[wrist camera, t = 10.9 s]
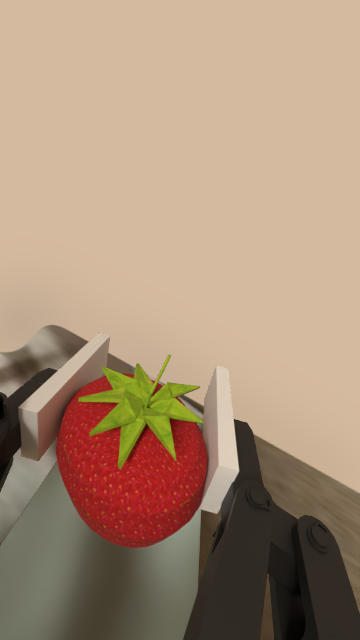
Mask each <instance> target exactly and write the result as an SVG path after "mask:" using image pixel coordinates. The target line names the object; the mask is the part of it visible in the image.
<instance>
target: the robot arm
mask: <svg viewBox="0 0 360 640" xmlns="http://www.w3.org/2000/svg"><path fill="white" fill-rule="evenodd" d="M109 340H110V336H107V335H104V334H100V333H98V334H97V335H96V336H95V337H94V338H93V339H92V340H91V341H89V342H88V343H87V344H86V345H85V346H84V347H83V348H82V349H81V350H80V351H79V352H78V353H76V354H75V355H74V356H73V357H72V358H71V359H70V360H69V361H68V362H67V363H66V364H65V365H64V366H62V367H61V368H60V369H59V370H55V369H51V368H47V369H45V370H43V371H41V372H38V373H37V374H36V375H35V376H33V377H32V378H31V379H30V381H27V382H26V383H25V384H24V385H23V386H21V387H20V388H19V389H18V390H17V391H15V392H14V393H13V394H12V395H11V396H9V397H8V398H7V396H6V395H5V394H3V393H1V392H0V492H1V489H2V487H3V485H4V482H5V480H6V478H7V475H8V473H9V471H10V468H11V466H12V463H13V455H14V454H15V453H16V452H17V451H18V450H19V448H20V447H21V456H22V457H26V458H29V459H33V460H36V461H39V460H40V458H41V457H42V456H43V454H44V453H45V452H46V450H47V449H48V448H49V446H50V445H51V444H52V442H53V441H54V440H55V438H56V437H57V436H58V432H59V429H60V426H61V423H62V419H63V416H64V413H65V410H66V407H67V405H68V403H69V402H70V400H71V398H72V397H73V396H74V395H75V394H76V392H77V391H78V390H79V389H80V388H82V387H83V386H85V385H86V384H88V383H90V382H92V381H94V380H97V379H99V378H101V377H102V375H103V374H104V372H103V370H102V366H104V367H106V364H107V356H108V347H109ZM203 422H204V423H205V424H203V439H204V442H205V445H206V452H207V469H206V479H205V488H204V494H203V497H202V500H201V503H200V506H199V509H202V510H205V511H208V512H212V513H215V514H218V512H219V510H220V508H221V518H222V520H221V521H220V523H219V525H218V527H217V529H216V531H215V533H214V535H213V537H215V538H214V541H213V544H212V547H211V551H210V554H209V557H208V560H207V563H206V567H205V570H204V573H203V576H202V580H201V583H200V586H199V589H198V593H197V596H196V599H195V602H194V605H193V609H192V612H191V615H190V618H189V622H188V625H187V628H186V631H185V634H184V638H183V640H260V631H261V622H262V614H263V605H264V596H265V587H266V578H267V573H268V574H269V581H270V593H271V605H272V617H273V629H274V640H360V613H359V610H358V607H357V604H356V601H355V597H354V594H353V591H352V588H351V585H350V581H349V578H348V575H347V572H346V569H345V566H344V562H343V559H342V556H341V553H340V550H339V547H338V544H337V542H336V540H335V538H334V536H333V535H332V533H331V532H330V531H329V529H328V528H327V527H326V526H325V525H324V524H323V523H322V522H321V521H319V520H318V519H316V518H314V517H313V516H308V515H304V516H302V517H300V518H299V520H298V519H297V518H295V517H294V516H292V515H290V514H289V513H287V512H286V511H284V510H283V509H281V508H280V507H279V506H277V505H276V504H275V503H274V502H273V500H272V498H271V495H270V494H269V493H268V491H267V490H266V488H265V487H264V485H263V481H262V476H261V471H260V466H259V461H258V456H257V452H256V446H255V440H254V435H253V432H252V430H251V428H250V427H249V425H248V423H246V422H242V421H239V420H235V419H233V410H232V401H231V391H230V382H229V372H228V368H224V367H220V366H216V368H215V371H214V373H213V376H212V379H211V382H210V385H209V388H208V391H207V393H206V396H205V402H204V420H203Z"/></svg>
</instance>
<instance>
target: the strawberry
mask: <svg viewBox="0 0 360 640" xmlns="http://www.w3.org/2000/svg"><path fill="white" fill-rule="evenodd" d="M170 357H171V355H168V357H167V359H166V361H165V363H164V365H163V367H162V369H161V371H160V373H159V375H158V377H157V379H156V381H153V380H151V379H150V378H149V377H148V375H147V374H146V373H145V372H144V370H143V369H142V367H141V366H140V365H139V364H137V365H136V369H135V374H134V375H133V374H120V373H118V372H116V371H113V370H111V369H108V368H106V367H104V366H102V370H103V372H104V374H105V375H106V376H104V377H101V378H99V379H97V380H94V381H92V382H90V383H88V384H86V385H85V386H83V387H82V388H80V389H79V390H78V391H77V392H76V394H75V395H74V396H73V397H72V398H71V400H70V402H69V403H68V405H67V407H66V410H65V413H64V416H63V419H62V423H61V426H60V429H59V432H58V436H57V446H56V454H57V462H58V468H59V471H60V474H61V477H62V480H63V483H64V485H65V488H66V490H67V492H68V494H69V497H70V499H71V501H72V503H73V505H74V507H75V508H76V510H77V512H78V514H79V515H80V517H81V518H82V519H83V521H84V522H85V523H86V524H87V525H88V526H89V528H90V529H91V530H93V531H94V532H95V533H97V534H98V535H99V536H101V537H102V538H103V539H105V540H107V541H109V542H112V543H114V544H116V545H118V546H124V547H130V548H141V547H149V546H151V545H154V544H156V543H158V542H161V541H163V540H164V539H166V538H167V537H169V536H171V535H172V534H174V533H176V532H177V531H178V530H180V529H181V528H182V527H183V526H185V525H186V524H187V523H188V522H189V521H190V520H191V519H192V517H193V516H194V514H195V513H196V511H197V510H198V508H199V506H200V503H201V500H202V497H203V494H204V488H205V479H206V469H207V452H206V445H205V442H204V439H203V436H202V433H201V431H200V429H199V427H198V425H197V423H202V424H205V423H204V422H203V421H202V420H201V419H199V418H198V417H197V416H196V415H195V414H193V413H192V412H191V411H190V410H189V409H187V408H186V407H185V405H184V404H183V403H182V402H181V401H180V399H179V398H178V397H179V396H181V395H184V394H186V393H189V392H191V391H194V390H196V389H199V388H200V386H191V385H183V384H176V383H167V384H165V385H164V386H162V385H161V384H159V383H158V381H159V379H160V377H161V375H162V373H163V371H164V369H165V367H166V365H167V363H168V361H169V359H170Z"/></svg>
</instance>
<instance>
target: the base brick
mask: <svg viewBox="0 0 360 640" xmlns="http://www.w3.org/2000/svg"><path fill="white" fill-rule="evenodd" d="M200 524H201V509H199V508H198V510H197V511H196V513H195V514H194V516H193V517H192V519H191V520H190V521H189V522H188V523H187V524H186V525H185V526H183V527H182V528H181V529H180V530H178V531H177V532H176V533H174V534H172V535H171V536H169V537H167V538H166V539H164V540H163V541H161V542H158V543H156V544H154V545H151V546H149V547H141V548H130V547H124V546H118V545H116V544H114V543H112V542H109V541H107V540H105V539H103V538H102V537H101V536H99V535H98V534H97V533H95V532H94V531H93V530H91V529H90V528H89V526H88V525H87V524H86V523H85V522H84V521H83V519H82V518H81V517H80V515H79V514H78V512H77V510H76V508H75V507H74V505H73V503H72V501H71V499H70V497H69V494H68V492H67V490H66V488H65V485H64V483H63V480H62V477H61V474H60V471H59V468H58V462H56V463H55V465H54V466H53V468H52V469H51V470H50V472H49V473H48V475H47V476H46V478H45V479H44V481H43V482H42V484H41V485H40V487H39V488H38V490H37V491H36V493H35V494H34V496H33V497H32V499H31V500H30V502H29V503H28V505H27V506H26V508H25V509H24V511H23V512H22V514H21V515H20V517H19V518H18V520H17V521H16V523H15V524H14V526H13V527H12V529H11V530H10V532H9V533H8V535H7V536H6V538H5V539H4V541H3V542H2V544H1V545H0V640H183V638H184V634H185V631H186V628H187V625H188V622H189V618H190V615H191V612H192V609H193V605H194V602H195V599H196V596H197V593H198V572H199V548H200Z"/></svg>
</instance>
